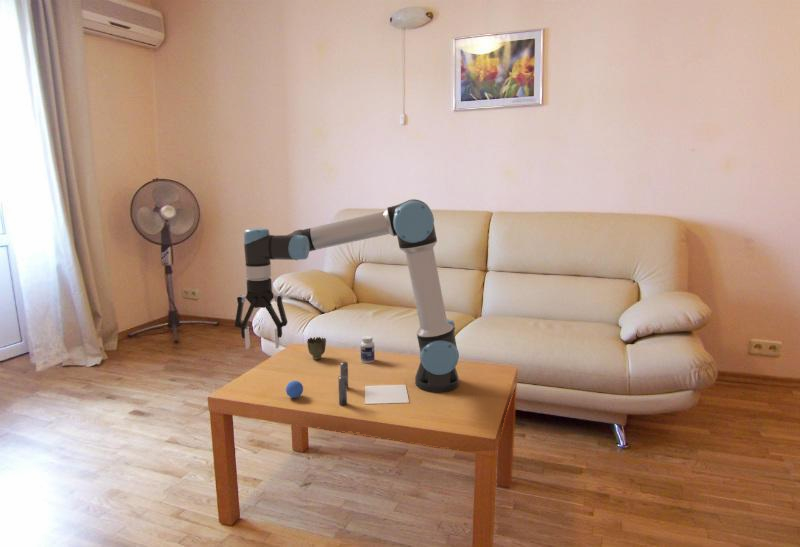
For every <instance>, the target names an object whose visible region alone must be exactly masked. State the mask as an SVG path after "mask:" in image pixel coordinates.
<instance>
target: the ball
mask: <svg viewBox="0 0 800 547" xmlns="http://www.w3.org/2000/svg"><path fill="white" fill-rule="evenodd" d="M285 392H286V394H287V396H288V397H289V398H292V399H296V398H297V399H298V398H299V397H300V396H301V395H302V394H303V392H304V386H303V384H302V383H301V382H300V381H298V380H292V381H290V382H288V383H287V385H286V387H285Z"/></svg>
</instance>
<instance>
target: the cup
mask: <svg viewBox="0 0 800 547" xmlns="http://www.w3.org/2000/svg"><path fill="white" fill-rule="evenodd" d="M321 337H322V336H321ZM321 337H320V336H319V337H318V336H316V337H314V336H313V338H312V337H309V338H307V340H306V342H307V349H308V353H309V354H310V355H311V356H312V359H313V360H315V361H318V360H321V359H322V357H323V355H324V353H325V351H326V345H327V338H326V337H322V338H321Z"/></svg>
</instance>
